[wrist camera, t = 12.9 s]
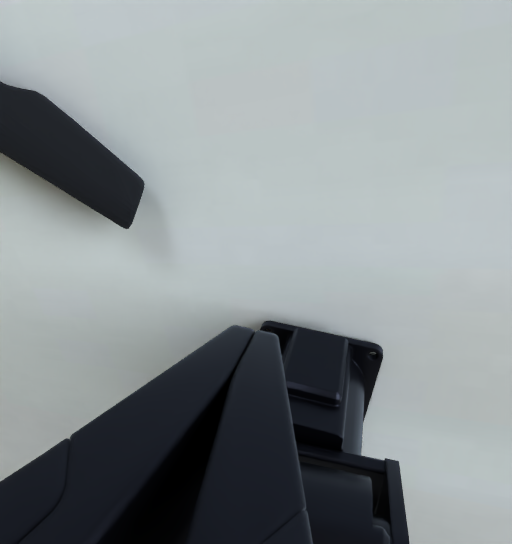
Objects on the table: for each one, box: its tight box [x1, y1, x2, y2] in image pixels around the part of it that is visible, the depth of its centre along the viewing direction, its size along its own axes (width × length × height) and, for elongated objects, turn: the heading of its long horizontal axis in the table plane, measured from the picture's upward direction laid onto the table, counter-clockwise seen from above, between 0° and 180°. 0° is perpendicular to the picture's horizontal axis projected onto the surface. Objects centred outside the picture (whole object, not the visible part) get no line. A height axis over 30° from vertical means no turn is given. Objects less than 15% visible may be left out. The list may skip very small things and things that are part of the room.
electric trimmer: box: [0, 81, 144, 229], centre depth 19 cm, size 4×16×3 cm, turn 59°
